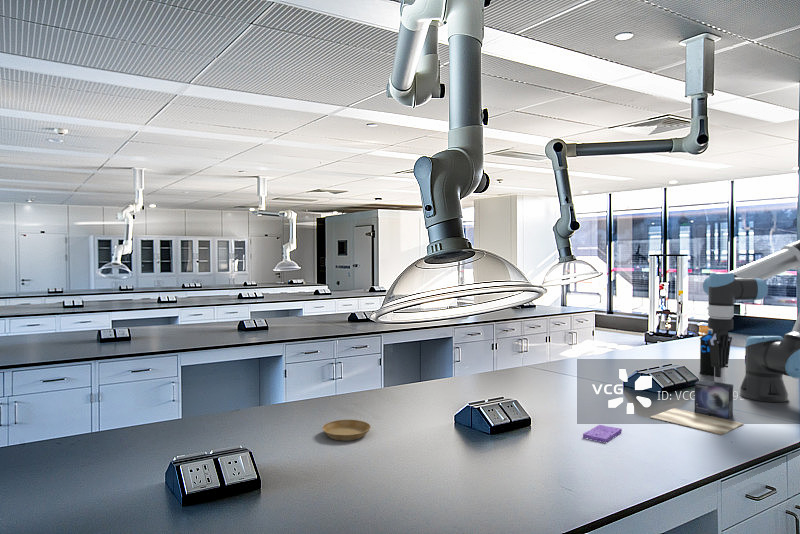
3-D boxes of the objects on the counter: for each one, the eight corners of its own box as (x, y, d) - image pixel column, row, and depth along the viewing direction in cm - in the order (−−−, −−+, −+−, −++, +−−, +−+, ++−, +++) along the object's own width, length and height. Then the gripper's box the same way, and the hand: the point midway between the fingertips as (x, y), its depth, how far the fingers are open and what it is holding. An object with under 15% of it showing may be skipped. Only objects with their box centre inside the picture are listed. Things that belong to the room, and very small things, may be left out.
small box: (693, 413, 189) (693, 382, 189) (698, 409, 194) (699, 379, 193) (728, 419, 182) (729, 387, 181) (733, 415, 186) (733, 384, 186)
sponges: (582, 439, 165) (582, 433, 165) (599, 429, 174) (599, 423, 174) (606, 445, 160) (606, 438, 160) (622, 434, 170) (622, 428, 170)
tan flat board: (674, 409, 194) (674, 408, 194) (743, 424, 176) (743, 423, 176) (650, 417, 184) (650, 416, 184) (721, 435, 167) (721, 433, 167)
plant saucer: (368, 426, 178) (367, 418, 178) (373, 441, 164) (373, 433, 164) (321, 428, 176) (321, 420, 176) (322, 445, 161) (322, 436, 161)
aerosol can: (700, 371, 253) (701, 327, 253) (721, 373, 248) (722, 328, 248) (698, 374, 247) (698, 329, 246) (719, 376, 242) (719, 331, 241)
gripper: (717, 315, 197) (716, 381, 197) (700, 317, 189) (698, 386, 190) (740, 317, 191) (739, 385, 191) (723, 320, 183) (722, 391, 184)
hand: (719, 386), depth 191 cm, fingers closed
